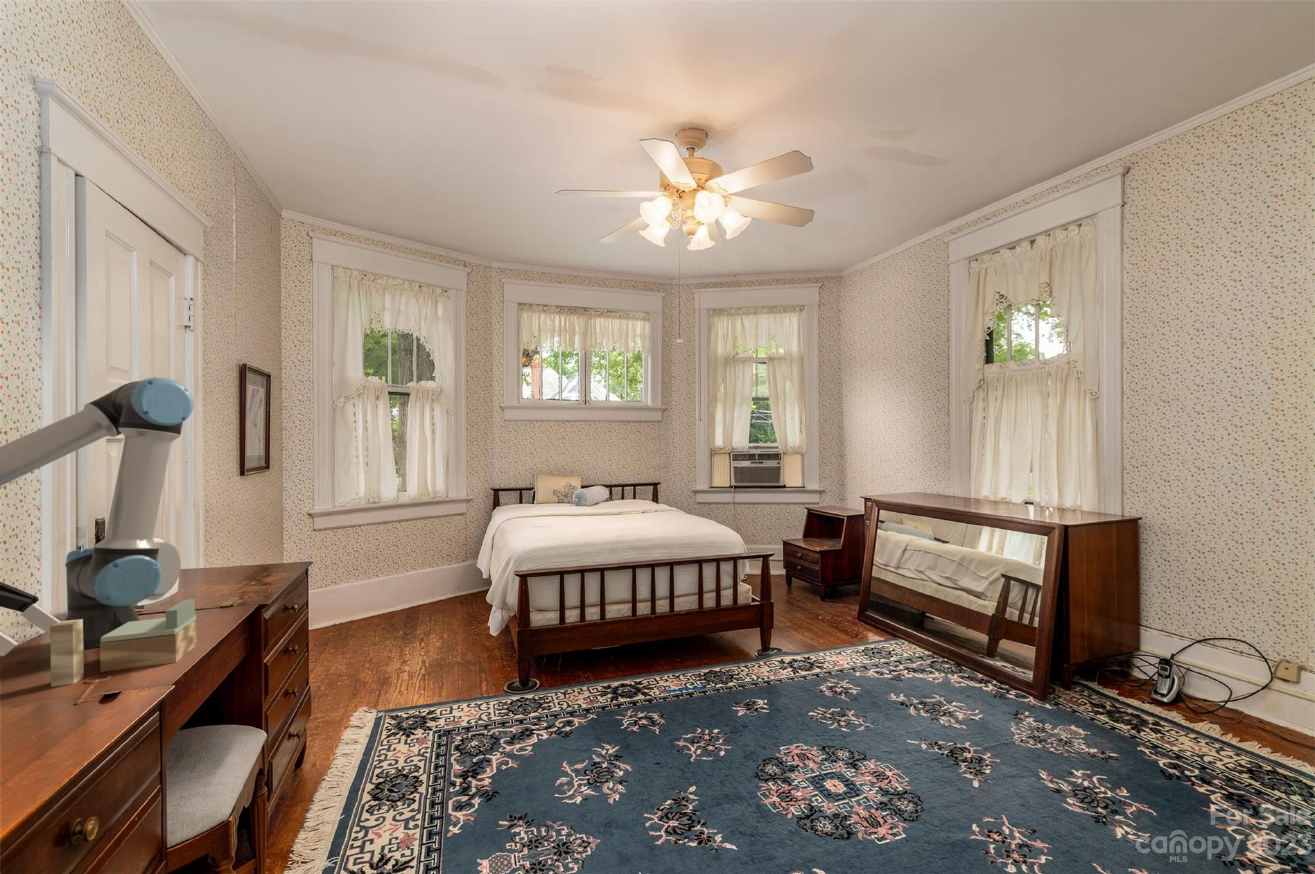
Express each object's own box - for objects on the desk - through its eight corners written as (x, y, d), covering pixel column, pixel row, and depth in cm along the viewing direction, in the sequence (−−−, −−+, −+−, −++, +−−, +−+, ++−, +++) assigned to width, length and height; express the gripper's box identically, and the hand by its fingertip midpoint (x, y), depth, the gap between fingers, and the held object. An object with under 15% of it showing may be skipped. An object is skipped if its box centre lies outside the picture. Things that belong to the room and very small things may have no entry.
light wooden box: (128, 653, 135) (128, 626, 135) (197, 644, 139) (196, 619, 139) (100, 671, 123) (100, 643, 123) (175, 662, 128) (175, 634, 128)
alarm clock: (155, 599, 183) (154, 534, 183) (184, 598, 184) (183, 533, 184) (108, 616, 165) (106, 545, 165) (141, 614, 166) (139, 543, 166)
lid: (128, 626, 135) (128, 604, 135) (196, 618, 139) (196, 597, 139) (100, 642, 124) (100, 618, 124) (175, 633, 128) (175, 610, 128)
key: (104, 703, 110) (125, 676, 122) (104, 698, 110) (125, 671, 122) (61, 709, 107) (87, 680, 119) (62, 703, 107) (87, 675, 119)
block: (61, 680, 119) (60, 621, 120) (83, 677, 121) (82, 619, 121) (51, 686, 116) (50, 626, 116) (73, 683, 117) (72, 623, 117)
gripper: (-37, 571, 122) (56, 634, 127) (-152, 601, 98) (-32, 677, 103) (-4, 544, 124) (87, 607, 129) (-109, 567, 100) (7, 643, 105)
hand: (34, 639), depth 116 cm, fingers open, 13 cm apart
